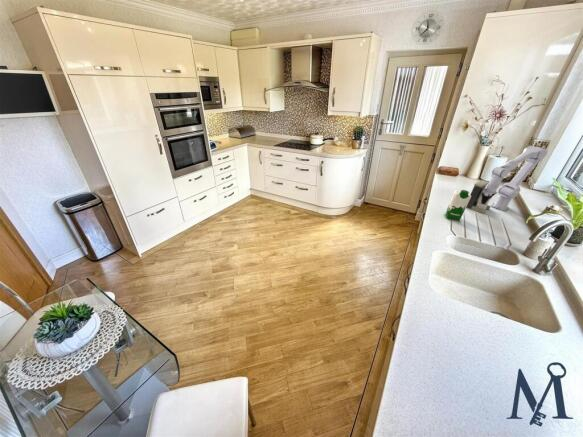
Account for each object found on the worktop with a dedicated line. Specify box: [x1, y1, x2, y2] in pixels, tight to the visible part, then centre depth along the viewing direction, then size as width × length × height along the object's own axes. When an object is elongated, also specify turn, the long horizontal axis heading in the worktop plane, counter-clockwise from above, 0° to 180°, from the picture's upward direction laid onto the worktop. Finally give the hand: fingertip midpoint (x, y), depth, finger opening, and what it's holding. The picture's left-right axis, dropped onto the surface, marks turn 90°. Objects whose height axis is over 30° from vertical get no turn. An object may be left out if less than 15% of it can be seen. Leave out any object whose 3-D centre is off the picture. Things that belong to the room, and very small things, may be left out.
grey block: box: [466, 179, 492, 214], centre depth 165 cm, size 14×12×18 cm
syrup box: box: [476, 188, 492, 210], centre depth 164 cm, size 6×6×14 cm
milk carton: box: [445, 189, 471, 222], centre depth 150 cm, size 9×9×20 cm
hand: (484, 202), depth 165 cm, fingers closed on syrup box, 6 cm apart
